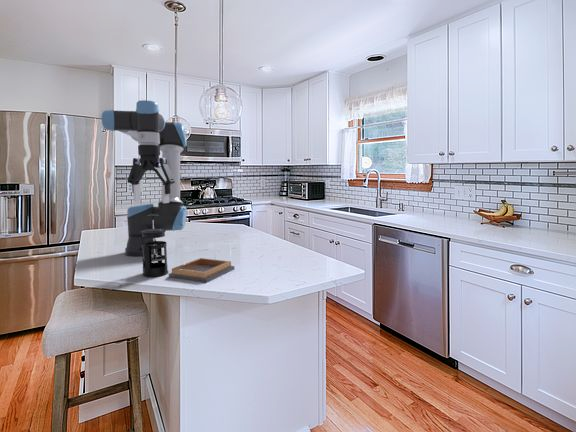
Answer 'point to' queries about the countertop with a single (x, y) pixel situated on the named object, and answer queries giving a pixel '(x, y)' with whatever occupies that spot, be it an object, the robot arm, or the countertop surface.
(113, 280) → the countertop surface
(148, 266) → the french press
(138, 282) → the countertop surface
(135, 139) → the robot arm
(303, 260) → the countertop surface
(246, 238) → the countertop surface
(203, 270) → the rectangular wooden frame
